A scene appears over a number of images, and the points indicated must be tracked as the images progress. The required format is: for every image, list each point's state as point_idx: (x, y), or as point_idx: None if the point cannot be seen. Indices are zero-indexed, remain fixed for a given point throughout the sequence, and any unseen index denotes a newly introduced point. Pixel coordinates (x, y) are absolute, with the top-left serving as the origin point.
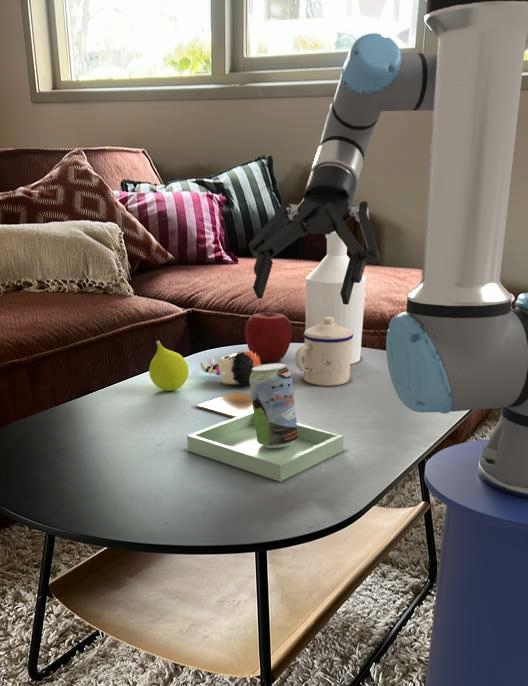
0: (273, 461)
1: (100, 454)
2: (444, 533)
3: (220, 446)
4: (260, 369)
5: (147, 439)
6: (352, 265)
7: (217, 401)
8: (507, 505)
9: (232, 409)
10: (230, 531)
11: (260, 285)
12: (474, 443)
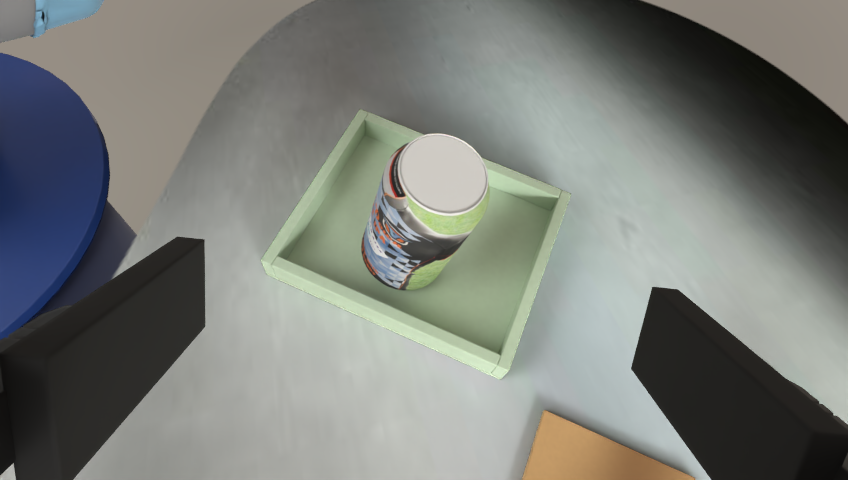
0: (375, 119)
1: (689, 165)
2: (107, 234)
3: (488, 160)
4: (459, 152)
5: (662, 244)
6: (69, 311)
7: None
8: None
9: (591, 468)
10: (386, 3)
11: (661, 325)
12: None
